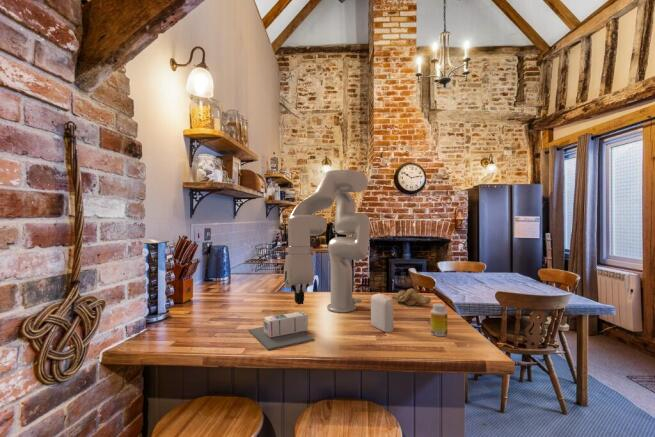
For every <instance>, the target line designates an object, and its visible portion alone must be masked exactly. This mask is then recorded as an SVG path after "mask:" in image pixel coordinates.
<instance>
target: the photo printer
mask: <svg viewBox="0 0 655 437" xmlns="http://www.w3.org/2000/svg"><path fill="white" fill-rule="evenodd" d="M394 323H395V322H394V302H393V300H392V299H391V298H390V297H389V296H387V295H386V294H383V293H375V294H373V295H372V296H371V297H370V324H371V326H373V327H374V328H376V329H379V330H380V331H382V332H386V333H392V332H393V331H394V330H395V329H394V326H395V324H394Z"/></svg>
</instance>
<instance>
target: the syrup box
mask: <svg viewBox="0 0 655 437" xmlns="http://www.w3.org/2000/svg"><path fill="white" fill-rule="evenodd" d="M308 317H309V316H308V314H306V313H305V312H303V311H302V310H299V311H294V312H287V313H281V314H275V315H270V316H269V315H268V316H264V317H263V324H262V325H263V326H262V327H264V333H265V334H266V335H267V336H269V337H270V338H271V337H276V336H281V335H286V334H291V333H297V332H302V331H303V332H306V331H308V330H309V321H308V320H309V318H308Z"/></svg>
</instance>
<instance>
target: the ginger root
mask: <svg viewBox="0 0 655 437" xmlns="http://www.w3.org/2000/svg"><path fill="white" fill-rule="evenodd" d="M391 298H392V299H393V300H396V303H398V304H401V303H403V304H405V305H406V306H407V307H409V306H410V307H411V306H414V305H415V306H421V307H422V306H426V305H429V304H430V303H431V302H432V299H431V297H430V296H428V295H427V296H425V295H423V294H421V293H419V292H417V291H416V290H415V289H414V287H413V288H412V287H411V288H408V289H407V290H404V289H401V290H399V291H398V292H397V293H396V294H393V295H391Z"/></svg>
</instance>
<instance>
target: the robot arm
mask: <svg viewBox="0 0 655 437" xmlns="http://www.w3.org/2000/svg"><path fill="white" fill-rule="evenodd" d="M368 183H369V182H368V177H367V175H366V174H365V173H364V172H362V171H359V170H355V169H335V170H329V171H326V172H325V174H323V176H322V178H321V180H320V182H319V184H318V186H317V187H316V189H315V191H314V193H312V194H311V195H309V196H307V197H306V198H305V199H303V200H302V201H300V202H298V204H297V205H295V207H294V209H293V210H292V212H291V214H290V216H289V218H288V220H287V229H288V231H287V232H288V234H287V235H288V236H287V237H288V239H287V242H288V244H287V246H288V248H287V249H288V254H286V255H285V260H284V264H283V282H284V288H285V289H290V290H292V292H294V302H295V304H297V305H304V301H305V293H306V292H307V291H306V290H307V289H308V288H309V287H311V286H314V280H315V266H314V260H313V255H312V254H311V252H312V251H314V247H313V246H311V236H320V235H322V234H324V232H325V231H326V229H327V221H326V219H325V218H324V217H323V216H322V215H319V214H315V213H317V212H321V211H324V210H327V209H328V208H330V207H331V206H332V205H334V203H335V201H336V210H335V217H334V218H335V219H334V231H335V232H336V233H337V234H339V235H350V236H352V237H349V236H336V237H333V238H331V239H330V240H329V242H328V245H327V246H328V248H327V249H328V254H329V261H330V262H329V264H330V303H329V304H327V306H326V309H327V310H328V311H330V312H333V313H350V312H354V311H355V310H356V309H357V306H356V305H355V304H356V303H357V304H359V303H362V298H360V297H358V298H356V297H353V266H352V265H351V263H350V262H349V261H350V260H353V261H354V260H355V261H357V260H358V261H362V260H365V259H366V258H367V256H368V252H369V245H370V244H369V243H370V236H371V235H370V233H371V220H370V217H369V216H368V215H367V214H366V213H362V212H360V213H358V212H357V213H355V212H356V202H355V200H354V197H353V196H352V195H351V194H350V193H360V192H364V191H365V190H366V189H367V187H368ZM353 235H355V236H356V237H353Z"/></svg>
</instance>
